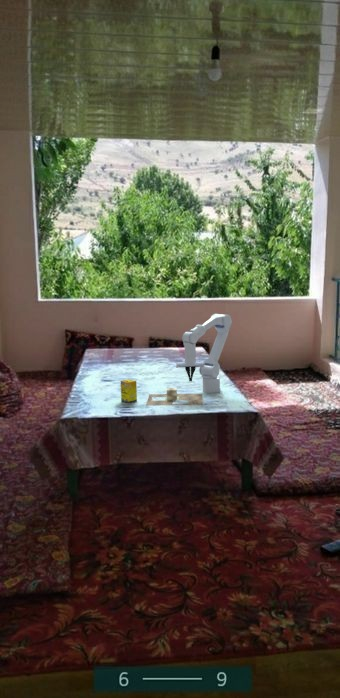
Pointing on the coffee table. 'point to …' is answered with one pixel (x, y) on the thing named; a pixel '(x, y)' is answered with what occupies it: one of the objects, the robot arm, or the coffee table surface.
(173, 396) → the block
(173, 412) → the coffee table surface
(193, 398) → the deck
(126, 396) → the supplement box
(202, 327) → the robot arm
